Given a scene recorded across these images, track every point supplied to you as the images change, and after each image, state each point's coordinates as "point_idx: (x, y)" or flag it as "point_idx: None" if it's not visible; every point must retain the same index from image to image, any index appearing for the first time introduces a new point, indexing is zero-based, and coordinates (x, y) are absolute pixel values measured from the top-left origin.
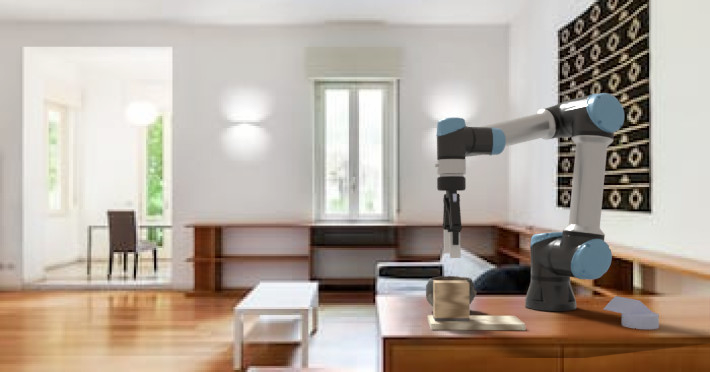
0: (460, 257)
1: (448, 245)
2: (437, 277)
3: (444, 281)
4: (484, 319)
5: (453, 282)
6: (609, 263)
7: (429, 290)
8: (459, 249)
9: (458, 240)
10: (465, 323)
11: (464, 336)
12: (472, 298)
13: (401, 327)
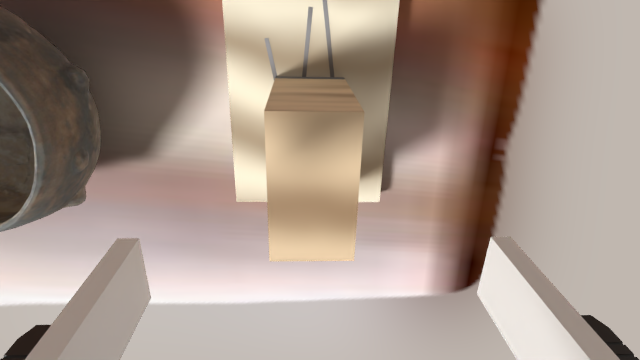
0: (512, 239)
1: (121, 315)
2: None
3: (309, 220)
4: (309, 12)
5: (345, 185)
6: None
7: (47, 215)
8: (539, 280)
9: (624, 346)
10: (381, 97)
11: (478, 113)
12: (9, 11)
13: (342, 263)
